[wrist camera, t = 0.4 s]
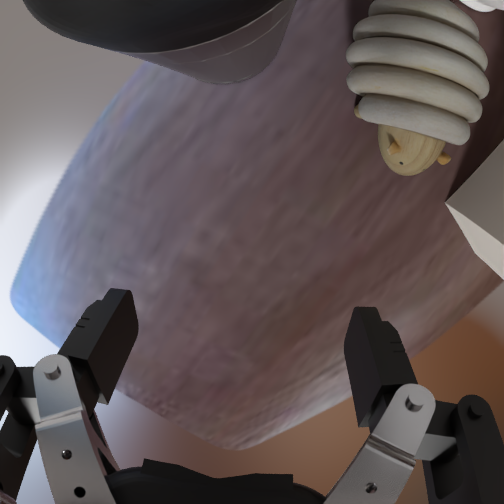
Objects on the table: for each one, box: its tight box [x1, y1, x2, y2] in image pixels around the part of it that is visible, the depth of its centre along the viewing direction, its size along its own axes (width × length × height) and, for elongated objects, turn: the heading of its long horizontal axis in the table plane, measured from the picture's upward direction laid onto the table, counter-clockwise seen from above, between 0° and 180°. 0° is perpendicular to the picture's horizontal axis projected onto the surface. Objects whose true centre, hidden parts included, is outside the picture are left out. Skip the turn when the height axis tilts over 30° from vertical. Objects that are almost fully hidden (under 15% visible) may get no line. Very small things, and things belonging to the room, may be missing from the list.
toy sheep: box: [346, 0, 489, 176], centre depth 17 cm, size 11×17×11 cm, turn 178°
